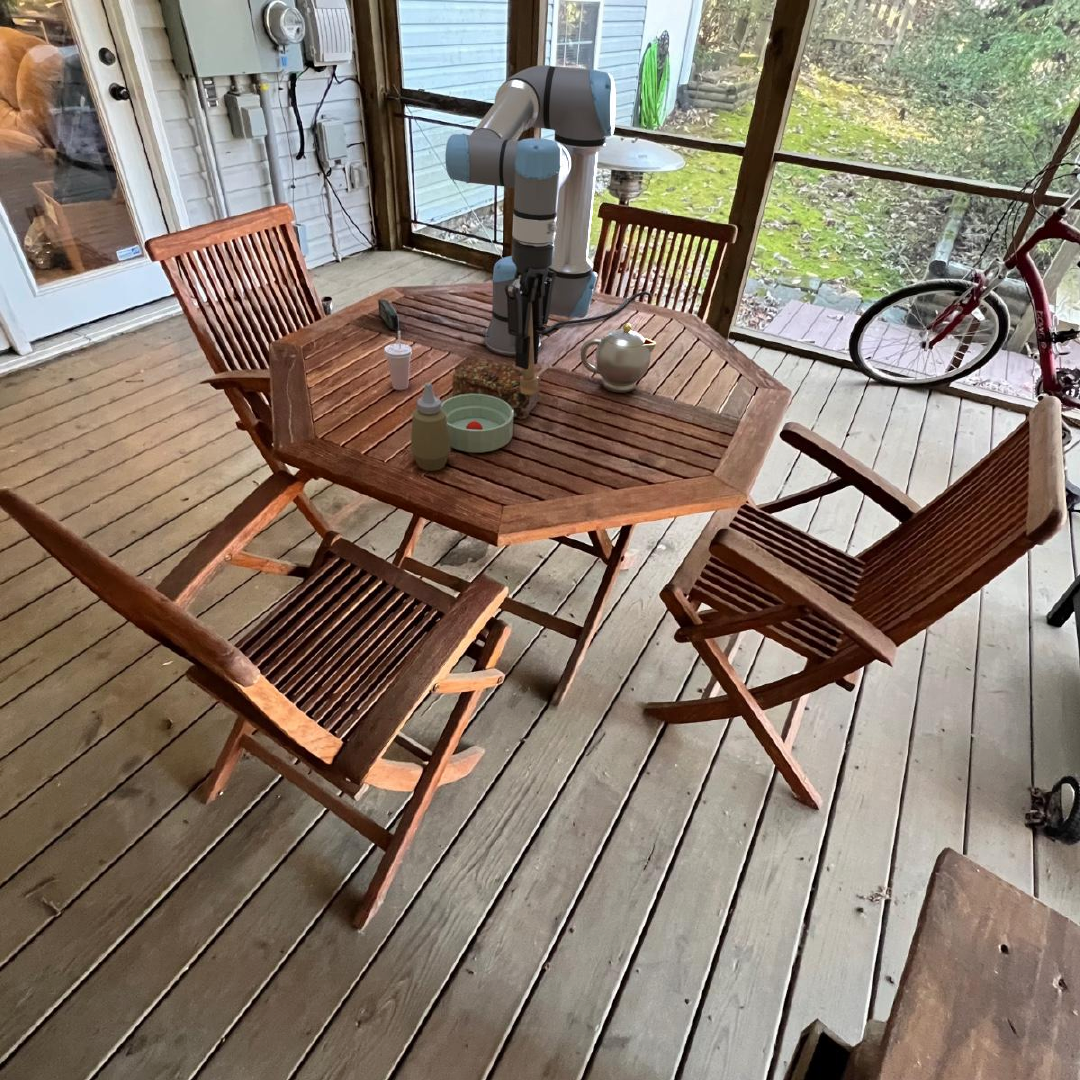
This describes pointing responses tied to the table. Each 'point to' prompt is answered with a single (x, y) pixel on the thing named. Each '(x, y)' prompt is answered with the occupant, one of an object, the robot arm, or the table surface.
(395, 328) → the dark grey tapered piece
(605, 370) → the teapot
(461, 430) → the bowl
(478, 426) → the cherry tomato
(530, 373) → the muddler
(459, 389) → the bread
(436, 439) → the squeeze bottle
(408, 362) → the smoothie
